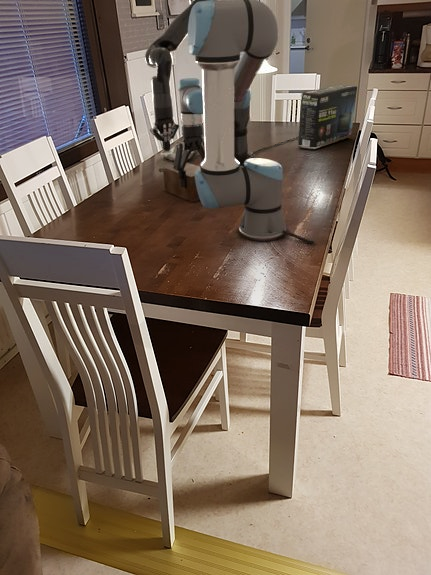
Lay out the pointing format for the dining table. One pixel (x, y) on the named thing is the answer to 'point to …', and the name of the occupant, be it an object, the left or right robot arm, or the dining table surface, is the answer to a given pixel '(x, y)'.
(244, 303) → the dining table surface
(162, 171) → the dark piece
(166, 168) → the dark wooden box
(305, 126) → the router box
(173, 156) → the fossil
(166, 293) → the dining table surface
